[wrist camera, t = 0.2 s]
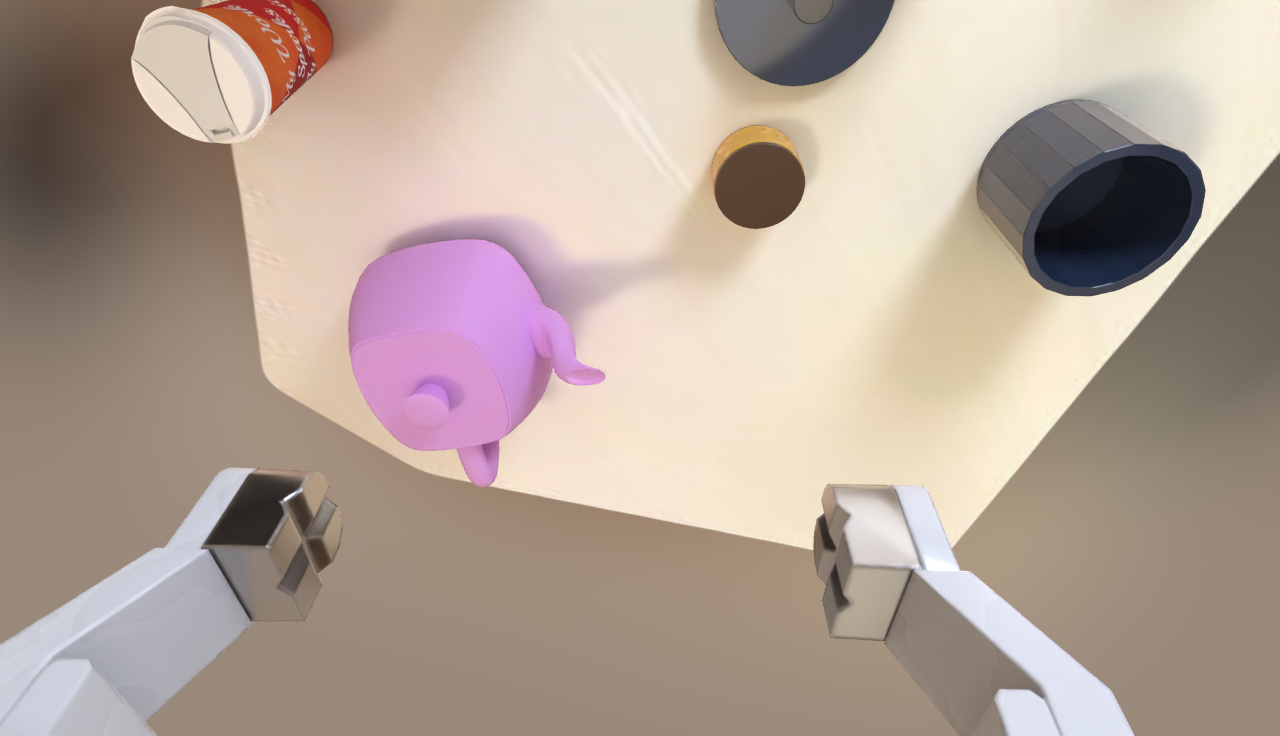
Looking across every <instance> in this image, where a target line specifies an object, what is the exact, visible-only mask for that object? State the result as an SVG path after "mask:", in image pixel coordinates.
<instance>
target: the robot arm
mask: <svg viewBox="0 0 1280 736" xmlns="http://www.w3.org/2000/svg"><path fill="white" fill-rule="evenodd" d="M329 488H330V486H329V484H328V482H327V479H326V477H325V475H324V473H321V472H317V471H298V470H280V469H260V468H258V469H251V468H230V467H227V468H225V469H224V470H222V471H221V472H219V473H218V474H217V475H216V476H215V477H214V479H213V480H212V482H211V483H210V484H209V486H208V487H207V489H206V490H205V491H204V493H203V494H202V496H201V497H200V498H199V500H198V501H197V503H196V504H195V505H194V507H193V508H192V510H191V511H190V513H189V514H188V515H187V517H186V518H185V520H184V521H183V522H182V524H181V525H180V527H179V528H178V530H177V531H176V532H175V534H174V535H173V536H172V538H171V539H170V541H169V542H168V544H167V545H166V546H165V548H154V549H152V550H151V551H149V552H148V553H146V554H144V555H143V556H141V557H139V558H138V559H136V560H135V561H133V562H132V563H130V564H128V565H127V566H125V567H123V568H122V569H120V570H119V571H117V572H116V573H114V574H112V575H111V576H109V577H107V578H106V579H104V580H103V581H101V582H99V583H98V584H96V585H95V586H93V587H91V588H90V589H88V590H86V591H85V592H83V593H82V594H80V595H78V596H77V597H76V598H74V599H72V600H70V601H69V602H67V603H66V604H64V605H62V606H61V607H59V608H58V609H56V610H54V611H53V612H51V613H50V614H48V615H46V616H45V617H43V618H42V619H40V620H38V621H37V622H35V623H34V624H32V625H30V626H29V627H27V628H26V629H24V630H22V631H21V632H19V633H18V634H16V635H14V636H13V637H11V638H9V639H8V640H6V641H5V642H3V643H2V644H0V736H157V734H155V732H154V731H153V730H152V729H151V728H150V727H149V726H148V725H147V724H146V721H147V720H148V719H149V718H150V717H151V716H153V715H154V714H155V713H156V712H157V711H158V710H159V709H160V708H161V707H162V706H163V705H165V704H166V703H167V702H168V701H169V700H170V699H171V698H172V697H173V696H174V695H175V694H177V693H178V692H179V691H180V690H181V689H182V688H183V687H184V686H185V685H186V684H188V683H189V682H190V681H191V680H192V679H193V678H194V677H195V676H196V675H197V674H199V673H200V672H201V671H202V670H203V669H204V668H205V667H206V666H207V665H208V664H209V663H211V662H212V661H213V660H214V659H215V658H216V657H217V656H218V655H219V654H220V653H221V652H223V651H224V650H225V649H226V648H227V647H228V646H229V645H230V644H231V643H232V642H233V641H235V640H236V639H237V638H238V637H239V636H240V635H241V634H242V633H243V632H244V631H246V630H247V629H248V628H249V627H250V626H251V625H252V622H251V621H296V622H301V621H303V622H305V621H306V619H307V616H308V614H309V612H310V610H311V608H312V606H313V604H314V601H315V599H316V597H317V595H318V592H319V591H320V589H321V586H322V584H321V581H320V578H319V575H318V573H319V572H320V571H322V570H323V569H324V568H325V567H327V566H328V565H329V564H331V563H332V562H333V560H334V558H335V556H336V553H337V551H338V549H339V546H340V540H341V534H342V520H341V514H340V512H339V509H338V507H337V505H336V504H334V503H333V502H332V501H330V500H329V499H328V498H326V497H325V496H326V494H327V492H328V490H329ZM822 505H823V509H824V514H822V515H821V516H820V517H819V518H817V521H816V526H815V531H814V559H815V566H816V571H817V575H818V577H819V578H820V579H821V580H822V581H823V582H824V583H825V584H826V588H825V592H824V596H823V600H822V601H823V606H824V610H825V615H826V620H827V625H828V630H829V634H830V638H841V639H859V640H877V641H885V645H886V646H887V648H888V649H889V650H890V651H891V652H892V654H893V655H894V656H895V657H896V659H897V660H898V661H899V662H900V663H901V665H902V666H903V667H904V668H905V670H906V671H907V672H908V673H909V674H910V676H911V677H912V678H913V679H914V681H915V682H916V683H917V684H918V685H919V687H920V688H921V689H922V690H923V691H924V693H925V694H926V695H927V696H928V698H929V699H930V700H931V701H932V703H933V704H934V705H935V706H936V707H937V709H938V710H939V711H940V712H941V714H942V715H943V716H944V717H945V718H946V720H947V721H948V722H949V723H950V725H951V726H952V727H953V728H954V729H955V731H956V732H957V733H958V734H959V736H1134V734H1133V732H1132V730H1131V728H1130V726H1129V724H1128V722H1127V720H1126V718H1125V716H1124V715H1123V713H1122V711H1121V709H1120V707H1119V705H1118V703H1117V701H1116V699H1115V697H1114V695H1113V693H1112V691H1111V690H1110V689H1109V688H1107V687H1106V686H1105V685H1104V684H1103V683H1102V682H1100V681H1099V680H1098V679H1097V678H1096V677H1094V676H1093V675H1092V674H1091V673H1090V672H1088V671H1087V670H1086V669H1085V668H1084V667H1083V666H1081V665H1080V664H1079V663H1078V662H1077V661H1076V660H1074V659H1073V658H1072V657H1071V656H1070V655H1068V654H1067V653H1066V652H1065V651H1064V650H1063V649H1061V648H1060V647H1059V646H1058V645H1057V644H1055V643H1054V642H1053V641H1052V640H1051V639H1050V638H1048V637H1047V636H1046V635H1045V634H1044V633H1042V632H1041V631H1040V630H1039V629H1038V628H1037V627H1035V626H1034V625H1033V624H1032V623H1031V622H1029V621H1028V620H1027V619H1026V618H1025V617H1024V616H1022V615H1021V614H1020V613H1019V612H1018V611H1016V610H1015V609H1014V608H1013V607H1012V606H1011V605H1009V604H1008V603H1007V602H1006V601H1005V600H1003V599H1002V598H1001V597H1000V596H999V595H997V594H996V593H995V592H994V591H993V590H991V589H990V588H989V587H988V586H987V585H986V584H984V583H983V582H982V581H981V580H980V579H979V578H977V577H976V576H975V575H974V574H973V573H972V572H969V571H960V569H959V566H958V564H957V561H956V559H955V556H954V554H953V551H952V549H951V546H950V544H949V541H948V539H947V536H946V534H945V531H944V529H943V527H942V524H941V522H940V519H939V517H938V514H937V512H936V509H935V507H934V504H933V502H932V499H931V497H930V495H929V492H928V490H927V489H926V488H925V487H924V486H906V485H891V486H889V485H859V484H827V486H826V487H825V489H824V492H823V496H822Z"/></svg>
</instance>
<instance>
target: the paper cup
mask: <svg viewBox="0 0 1280 736" xmlns="http://www.w3.org/2000/svg"><path fill="white" fill-rule="evenodd" d="M332 45H333V38H332V32H331V28H330V26H329V23H328V21H327V19H326V17H325V16H324V14H323V13H322V11H321V10H320V9H319V8H318V7H317V5H316V4H314V3H313V2H312V1H311V0H229V1H225V2H221V3H217V4H213V5H209V6H205V7H201V8H197V9H193V10H190V9H184V8H180V7H175V6H168V7H163V8H160V9H158V10H155V11H153V12H152V13H150V14H149V15H148V16H146V18H145V20H144V22H143V24H142V27H141V28H140V31H139V33H138V36H137V39H136V43H135V49H134V52H133V55H132V59H131V63H132V71H133V75H134V79H135V82H136V84H137V86H138V89H139V91H140V92H141V94H142V96H143V98H144V99H145V101H146V102H147V104H148V105H149V106H150V108H151V109H152V110H153V111H154V112H155V113H156V114H157V115H158V116H159V117H160V118H161V119H162V120H163V121H164V122H165V123H167V124H168V125H169V126H171V127H172V128H174V129H175V130H177V131H178V132H180V133H182V134H184V135H186V136H188V137H191V138H193V139H197V140H200V141H204V142H210V143H212V142H217V143H239V142H243V141H246V140H249V139H250V138H252V137H254V136H255V135H257V134H258V133H259V132H260V131H261V130H262V129H263V127H264V126H265V124H266V123H267V121H268V118H269V116H270V115H271V114H272V113H273V112H274V111H275V110H276V109H277V108H278V107H279V106H281V105H282V104H283V103H284V102H285V101H286V100H287V99H288V98H289V97H290V96H291V95H292V94H293V93H295V92H296V91H297V90H298V89H299V88H300V87H301V86H302V85H303V84H304V83H305V82H306V81H308V80H309V79H310V78H311V77H312V76H313V75H314V74H315V73H316V72H317V71H318V70H319V69H320V68H321V67H322V66H323V65H324V64H325V62H326V61H327V60H328V58H329V56H330V54H331V51H332Z"/></svg>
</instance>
